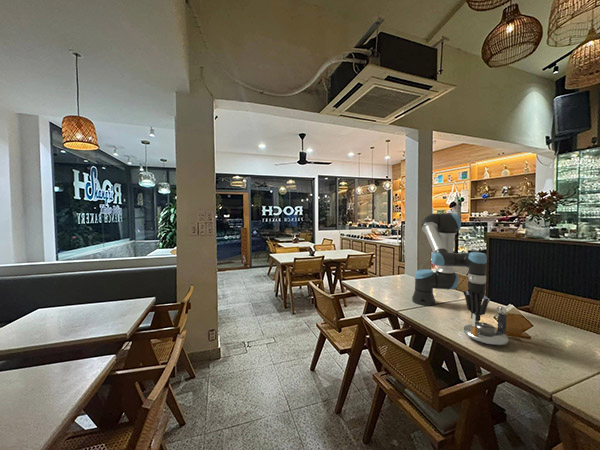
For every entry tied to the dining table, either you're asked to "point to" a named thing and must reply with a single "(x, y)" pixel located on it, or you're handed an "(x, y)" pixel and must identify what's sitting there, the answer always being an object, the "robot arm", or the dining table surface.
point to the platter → (494, 340)
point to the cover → (485, 329)
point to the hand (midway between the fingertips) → (475, 325)
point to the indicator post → (501, 319)
